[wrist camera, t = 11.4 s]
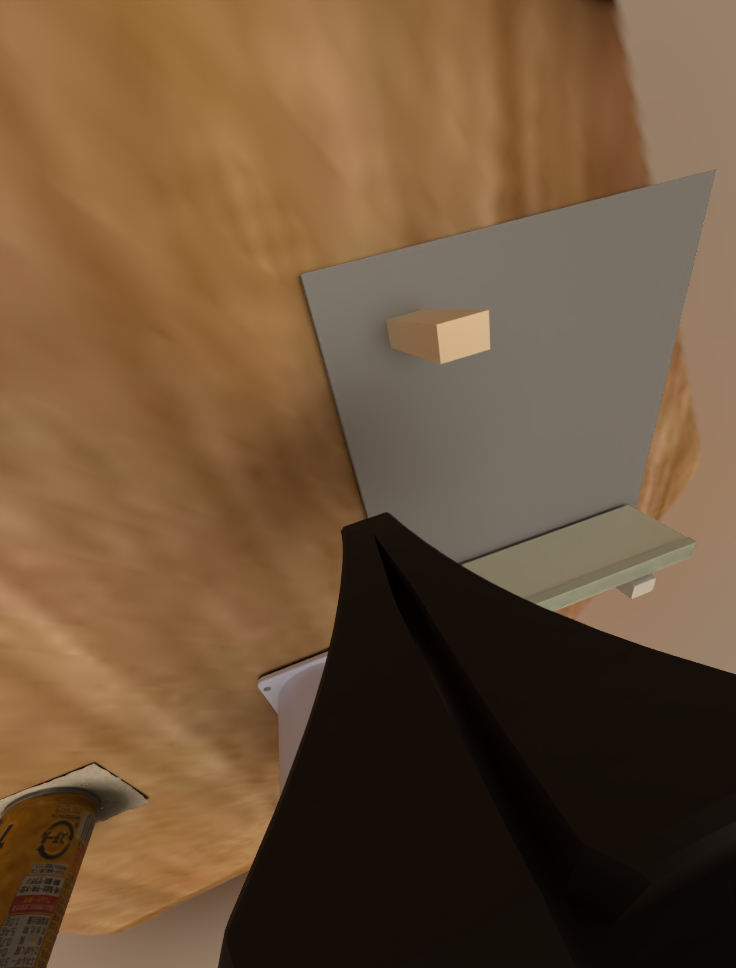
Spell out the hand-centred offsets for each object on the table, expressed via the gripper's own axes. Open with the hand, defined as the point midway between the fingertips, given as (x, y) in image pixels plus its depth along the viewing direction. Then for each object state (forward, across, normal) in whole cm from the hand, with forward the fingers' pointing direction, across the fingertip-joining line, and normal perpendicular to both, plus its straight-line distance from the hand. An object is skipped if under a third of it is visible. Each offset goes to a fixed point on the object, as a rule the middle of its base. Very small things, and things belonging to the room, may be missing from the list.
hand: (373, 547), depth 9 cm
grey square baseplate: (+9, -11, +4) cm, 15 cm away
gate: (+8, -12, +12) cm, 19 cm away
